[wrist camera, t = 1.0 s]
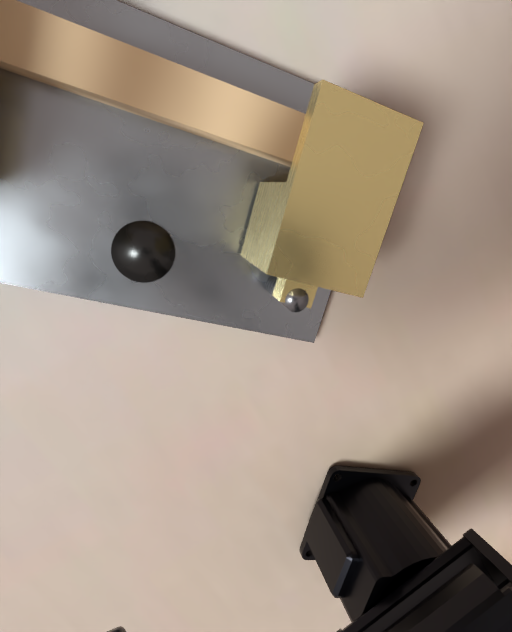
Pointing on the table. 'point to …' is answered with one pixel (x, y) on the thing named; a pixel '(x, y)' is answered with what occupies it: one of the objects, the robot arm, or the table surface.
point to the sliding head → (331, 198)
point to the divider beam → (143, 83)
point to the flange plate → (140, 188)
